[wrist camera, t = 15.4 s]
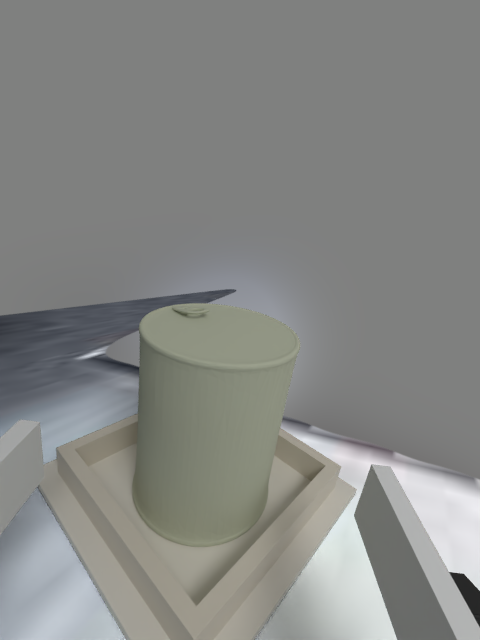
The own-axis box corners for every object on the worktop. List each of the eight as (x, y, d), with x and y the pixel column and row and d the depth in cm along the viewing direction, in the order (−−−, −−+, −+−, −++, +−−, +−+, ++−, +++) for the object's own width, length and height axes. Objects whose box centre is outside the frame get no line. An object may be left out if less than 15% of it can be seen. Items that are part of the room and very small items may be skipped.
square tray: (184, 740, 12) (190, 703, 11) (31, 476, 21) (28, 446, 20) (355, 494, 24) (363, 468, 23) (207, 395, 33) (209, 374, 32)
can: (202, 421, 28) (218, 290, 24) (292, 483, 23) (330, 330, 19) (103, 478, 21) (103, 308, 17) (200, 586, 16) (231, 378, 12)
